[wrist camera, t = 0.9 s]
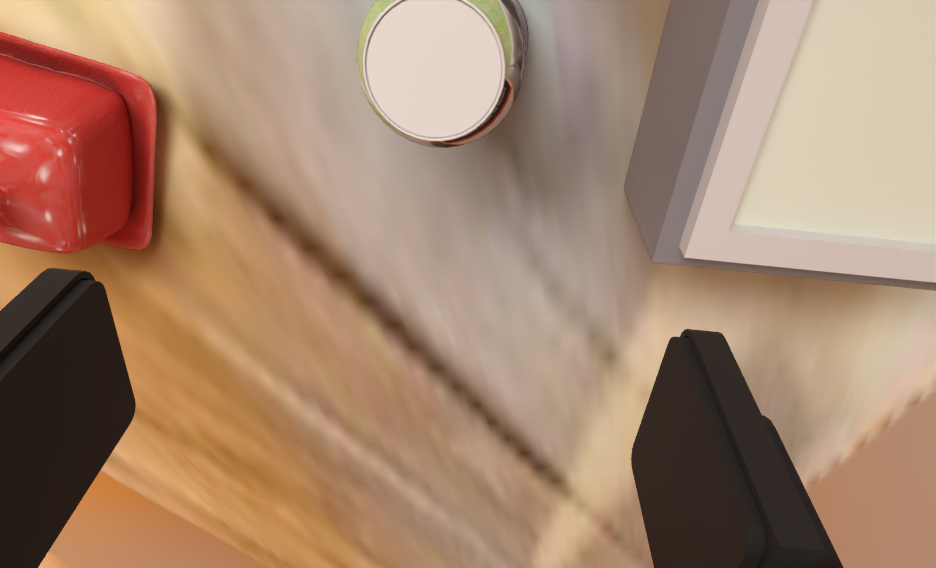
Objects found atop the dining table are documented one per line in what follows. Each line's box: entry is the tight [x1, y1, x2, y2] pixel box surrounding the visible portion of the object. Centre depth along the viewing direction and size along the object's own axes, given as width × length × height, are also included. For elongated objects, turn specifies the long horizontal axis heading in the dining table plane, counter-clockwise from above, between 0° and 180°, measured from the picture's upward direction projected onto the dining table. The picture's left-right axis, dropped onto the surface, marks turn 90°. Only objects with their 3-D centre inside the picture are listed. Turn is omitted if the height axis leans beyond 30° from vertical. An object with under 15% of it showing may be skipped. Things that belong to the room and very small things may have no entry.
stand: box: [624, 0, 936, 291], centre depth 29 cm, size 16×16×9 cm
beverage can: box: [357, 0, 528, 147], centre depth 27 cm, size 6×7×12 cm
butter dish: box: [0, 32, 157, 253], centre depth 33 cm, size 12×12×8 cm
